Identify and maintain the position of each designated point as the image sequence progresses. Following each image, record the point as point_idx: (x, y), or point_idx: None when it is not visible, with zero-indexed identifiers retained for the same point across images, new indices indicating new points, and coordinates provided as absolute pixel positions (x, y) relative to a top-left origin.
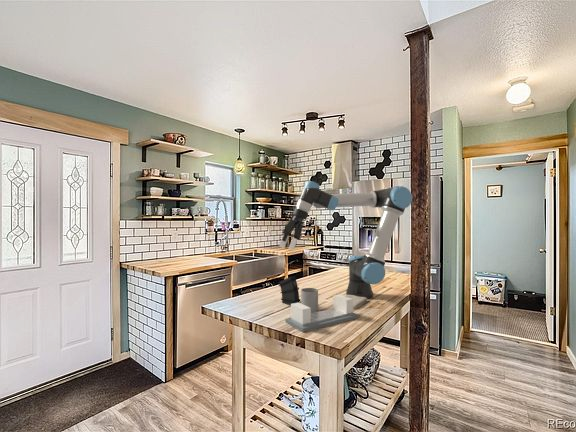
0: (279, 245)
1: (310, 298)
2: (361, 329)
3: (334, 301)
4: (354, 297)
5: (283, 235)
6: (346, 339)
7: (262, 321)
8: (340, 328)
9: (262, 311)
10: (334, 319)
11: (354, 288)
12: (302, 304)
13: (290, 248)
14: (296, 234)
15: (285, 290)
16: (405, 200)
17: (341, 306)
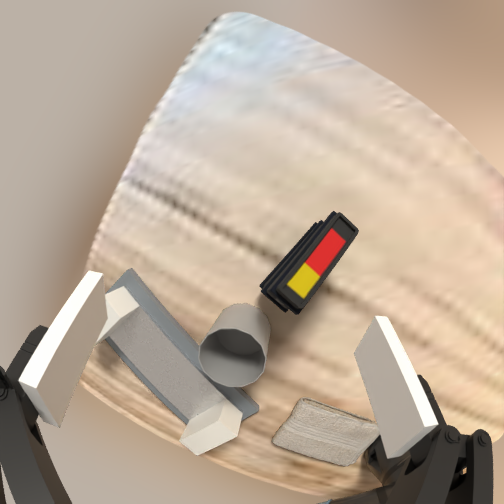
0: (85, 277)
1: (205, 351)
2: (141, 423)
3: (218, 412)
4: (350, 445)
5: (28, 364)
6: (91, 388)
7: (127, 204)
8: (132, 390)
9: (206, 178)
10: (155, 389)
11: (384, 455)
12: (107, 329)
13: (368, 341)
14: (399, 496)
15: (303, 246)
16: None
17: (198, 420)
